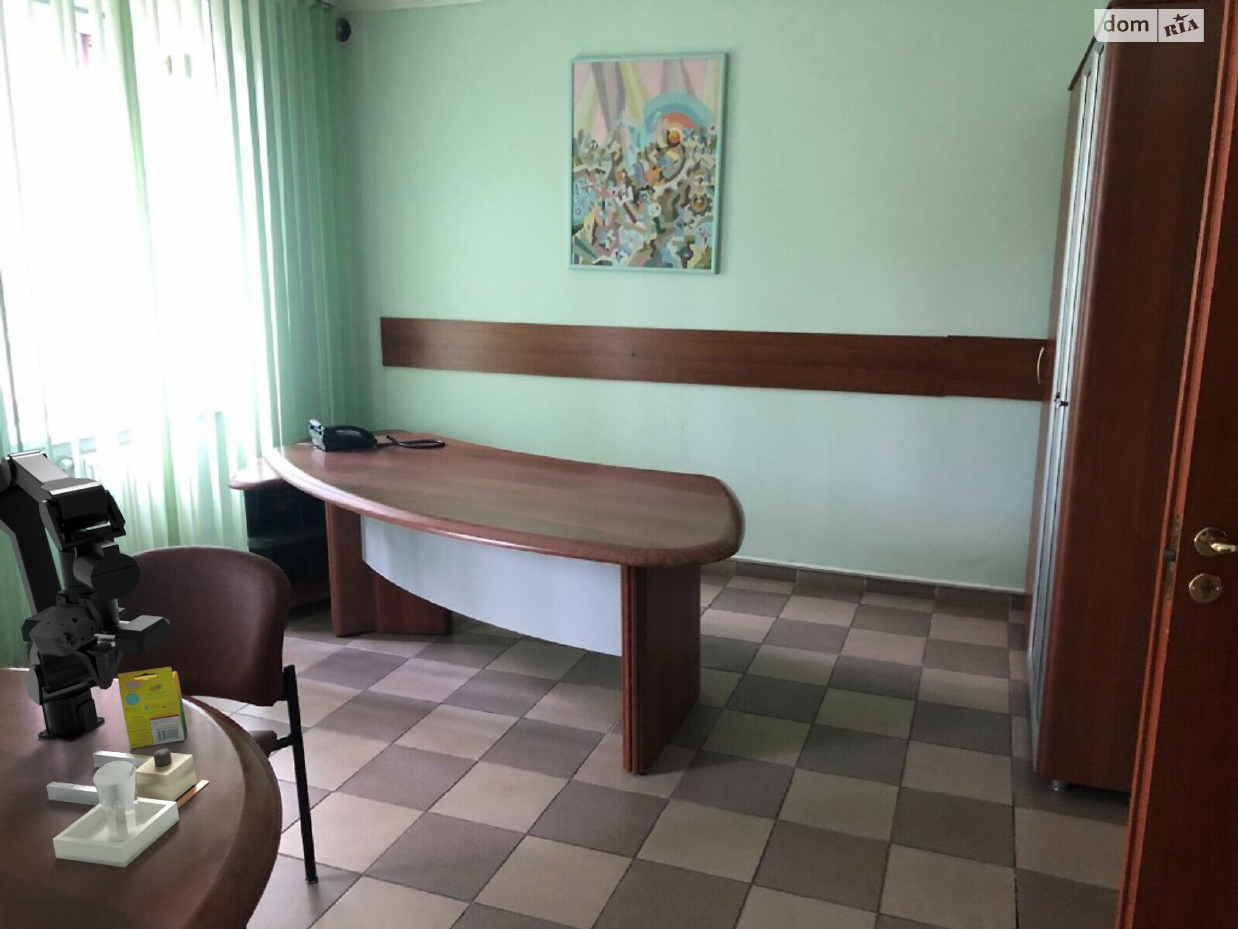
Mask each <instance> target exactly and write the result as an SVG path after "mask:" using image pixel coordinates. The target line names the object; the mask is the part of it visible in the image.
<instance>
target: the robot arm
mask: <svg viewBox="0 0 1238 929" xmlns="http://www.w3.org/2000/svg"><path fill="white" fill-rule="evenodd" d="M108 523H109V524H108ZM107 524H108V525H107ZM102 525H104V526H102ZM97 526H98V527H97ZM125 526H126V519H125V518H124V515H123V513H122V511H121V509H120V507H119V505H118V503H117V501H116V499H115V497H114V495H112V493H111V492H110V490H109V489H108V488H106V487H104V485H103V484H102V483H101V482H100V481H97V480H95V479H92V478H89V477H71V475H70V474H68V473H67V472H65V471H64V470H63V469H62V468H60V467H59V466H57V464H55V463H54V462H52V461H51V460H50V459H49V458H48V456H47V454H46V452H45V451H44V450H38V449H31V450H27V451H26V450H25V451H20V452H14V453H9V454H7V455H6V456H2V458H1V461H0V530H1V532H3V533H4V534H5V535H7V536H8V537H9V539H10V543H11V547H12V550H13V552H14V553H13V554H14V557H15V560H16V564H17V568H18V572H19V574H20V578H21V582H22V584H23V585H22V586H23V590H24V593H25V597H26V599H27V604H28V607H29V610H30V614H31V616H29V617H27V618H25V620H24V622H23V623H22V626H21V628H20V629H21V634H22V639H23V640H22V641H23V642H26V643H32V646H31V649H30V651H29V654H28V655H29V660H30V665H31V666H29V667H28V672H27V676H26V679H25V687H26V690H27V694H28V697H29V699H31V701H33V702H34V703H35V704H36V705H37V706H38V707H41V710H42V714H43V721H44V725H45V729H43V730H42V731H40V732H38V733H37V737H38V738H39V739H49V740H57V741H58V740H59V741H66V742H67V741H68V742H74V741H77V740H78V739H79V738H81V737H82V736H84V735H86V734H87V733H89V732H90V731H92V730H94V729H95V728H96V727H97V726H100V725H101V724H102V723H104V722H105V720H106V718H105V717H104V716H98V714H97V708H96V701H95V699H94V698H93V694H92V690H91V689H93V688H96V687H99V689H100V690H105V691H107V690H108V689H109V688H111V687H112V684H113V682H114V679H115V677H116V676H115V675H116V673H117V670H118V667H119V664H120V662H121V660H122V656H123V655H124V653H127V654H128V653H129V654H144V653H147V652H148V651H150V650H151V649H154V647H157V645H159V644H161V643H163V642H165V641H166V640H168V639H169V638H171V637H172V636H173V634H172V627H171V621H170V620H169V619H167V617H164V616H155V615H154V616H153V615H145V614H143V615H140V616H138V617H136V618H135V619H133V620H131V621H124V620H121V619H122V618H125V617H126V616H127V610H126V608H125V607H119V605H118V599H121V598H124V597H125V596H127V595H129V594H130V593H131V592H133V591H134V589H135V588H137V585H138V583H139V581H140V579H141V578H140V577H141V570H140V566H139V564H138V563H137V561H136V560H135V558H133V557H132V556H131V555H129V554H127V553H125V552H124V551H121V550H120V545H119V543H118V542H115V539H117V538H122V537H126V536H127V533H126V532H127V531H126V529H125ZM94 527H95V528H94ZM89 528H90V529H89ZM47 533H48V534H47ZM48 535H49V536H50V538H51V540H52V542H53V544H54V546H55V547H56V549H57V553H58V558H59V559H58V560H59V565H60V570H61V579H62V583H63V588H62V584H61V582H60V581H61V580H60V577H59V574H58V569H57V567H56V562H55V560H54V556H53V551H52V549H51V548H52V547H51V545H50V540H49V537H48Z"/></svg>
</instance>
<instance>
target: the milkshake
mask: <svg viewBox="0 0 1238 929" xmlns="http://www.w3.org/2000/svg"><path fill="white" fill-rule="evenodd" d="M135 763H136V760H135V761H134V762H133V764H132V763H129V762H126V761H114V762H110V763H107V764H105V765H104V766H102V767H101V768H98V769H97V770H96V771H95V773H94V775H93V778H92V781H93V784H94V787H96V791H97V794H98V797H99V800H100V803H101V807H102V810H103V814H104V818H105V821H106V825H107V829H108V832H109V836H110V838H111V839H112V840H114V841H122V840H126V839H127V838H128V837H129V836H130V835H132V834H133V833H134V832H135V831H136V830H138V829H139V828H140V823H139V811H138V798H137V797H138V795H137V784H136V768H135Z"/></svg>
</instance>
